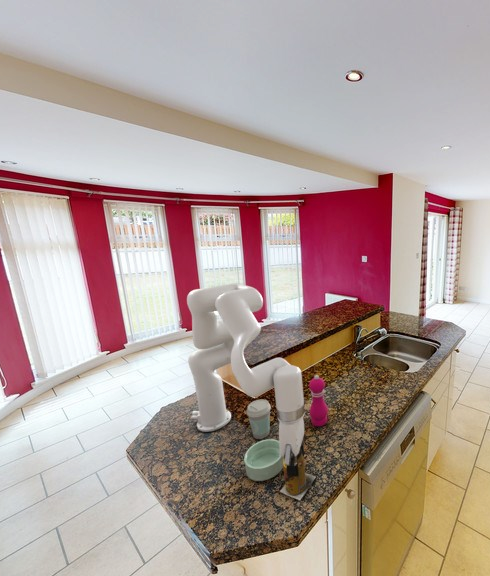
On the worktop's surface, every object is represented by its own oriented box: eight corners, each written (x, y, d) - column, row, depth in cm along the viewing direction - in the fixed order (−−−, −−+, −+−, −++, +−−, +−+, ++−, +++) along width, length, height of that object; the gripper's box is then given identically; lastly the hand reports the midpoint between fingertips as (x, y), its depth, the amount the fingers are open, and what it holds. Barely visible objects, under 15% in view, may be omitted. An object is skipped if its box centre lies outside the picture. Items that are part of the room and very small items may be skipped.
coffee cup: (249, 429, 109) (245, 401, 106) (272, 423, 111) (269, 396, 109) (249, 444, 101) (246, 414, 98) (274, 437, 104) (271, 408, 101)
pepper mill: (325, 428, 108) (322, 380, 104) (307, 426, 109) (304, 379, 105) (330, 416, 115) (328, 371, 111) (313, 414, 116) (310, 370, 112)
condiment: (279, 492, 82) (275, 456, 79) (296, 469, 89) (293, 436, 87) (300, 501, 79) (296, 464, 76) (316, 477, 86) (313, 443, 84)
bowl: (239, 482, 85) (237, 468, 84) (254, 451, 97) (253, 439, 96) (278, 482, 85) (277, 468, 84) (289, 451, 97) (288, 439, 96)
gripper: (286, 393, 87) (291, 444, 90) (267, 431, 70) (274, 492, 73) (310, 392, 87) (314, 444, 90) (296, 431, 70) (302, 492, 73)
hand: (296, 465), depth 82 cm, fingers closed on condiment, 6 cm apart
